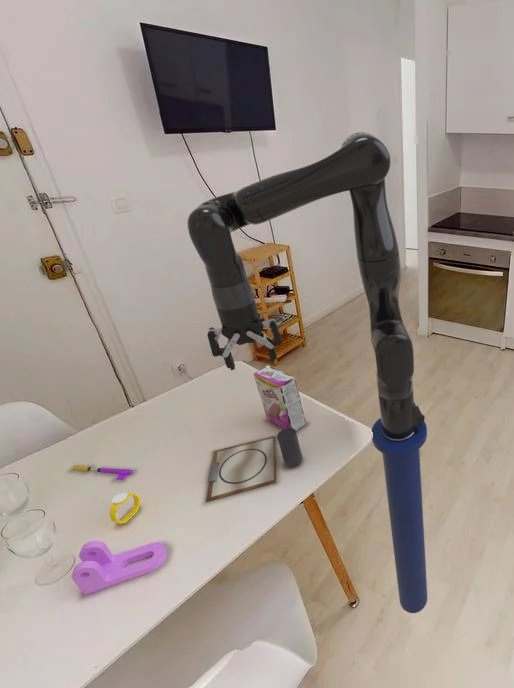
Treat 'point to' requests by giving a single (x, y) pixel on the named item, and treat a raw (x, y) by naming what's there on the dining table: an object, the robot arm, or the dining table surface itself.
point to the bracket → (114, 565)
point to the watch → (120, 500)
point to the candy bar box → (280, 398)
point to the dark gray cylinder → (289, 447)
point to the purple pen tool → (107, 471)
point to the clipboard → (242, 468)
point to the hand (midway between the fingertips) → (253, 364)
